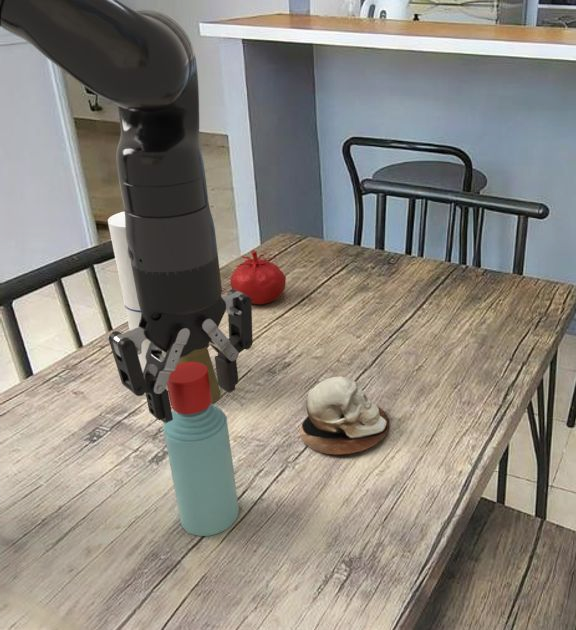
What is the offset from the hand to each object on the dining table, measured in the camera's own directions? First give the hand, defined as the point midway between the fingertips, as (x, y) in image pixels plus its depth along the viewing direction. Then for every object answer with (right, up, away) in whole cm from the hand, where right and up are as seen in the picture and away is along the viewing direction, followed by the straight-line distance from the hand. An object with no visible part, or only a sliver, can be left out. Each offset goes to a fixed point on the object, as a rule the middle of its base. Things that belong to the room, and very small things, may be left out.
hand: (197, 402), depth 69 cm
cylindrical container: (-16, 0, +34) cm, 37 cm away
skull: (+13, -7, +23) cm, 27 cm away
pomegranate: (-7, +12, +57) cm, 59 cm away
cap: (-1, 0, +1) cm, 1 cm away
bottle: (-1, -14, +8) cm, 16 cm away
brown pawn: (-9, -3, +29) cm, 31 cm away
